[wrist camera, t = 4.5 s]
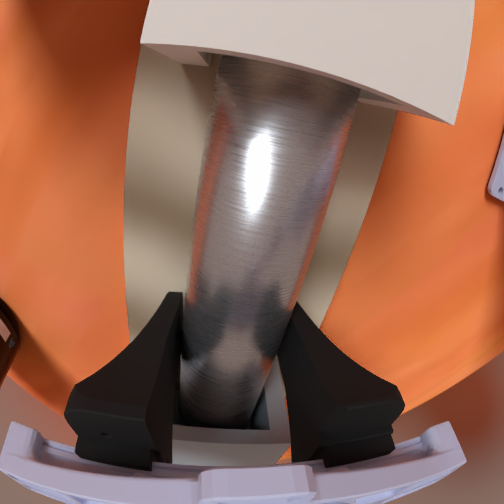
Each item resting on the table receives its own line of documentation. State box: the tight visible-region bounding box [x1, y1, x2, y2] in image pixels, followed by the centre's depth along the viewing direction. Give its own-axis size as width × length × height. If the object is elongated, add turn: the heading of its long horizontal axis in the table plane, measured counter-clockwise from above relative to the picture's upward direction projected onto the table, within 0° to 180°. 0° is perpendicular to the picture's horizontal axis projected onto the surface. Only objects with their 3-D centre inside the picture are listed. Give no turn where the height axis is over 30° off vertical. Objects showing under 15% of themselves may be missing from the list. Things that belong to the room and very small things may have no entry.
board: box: [124, 44, 398, 398], centre depth 13 cm, size 27×10×1 cm, turn 169°
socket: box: [172, 360, 291, 466], centre depth 15 cm, size 5×7×5 cm
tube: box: [178, 54, 361, 430], centre depth 11 cm, size 19×4×4 cm, turn 169°
